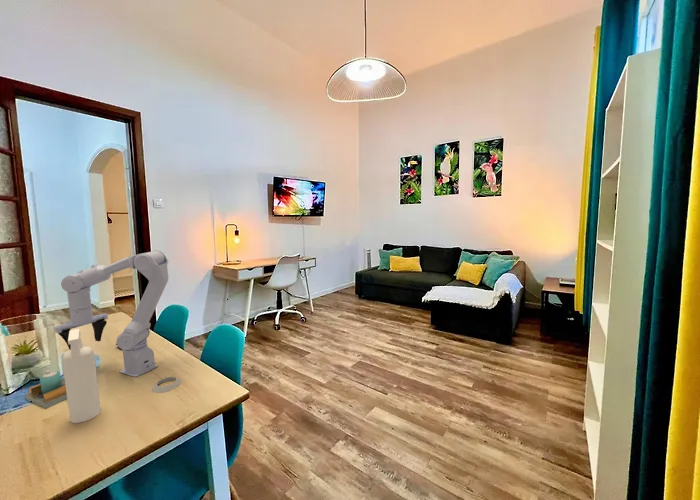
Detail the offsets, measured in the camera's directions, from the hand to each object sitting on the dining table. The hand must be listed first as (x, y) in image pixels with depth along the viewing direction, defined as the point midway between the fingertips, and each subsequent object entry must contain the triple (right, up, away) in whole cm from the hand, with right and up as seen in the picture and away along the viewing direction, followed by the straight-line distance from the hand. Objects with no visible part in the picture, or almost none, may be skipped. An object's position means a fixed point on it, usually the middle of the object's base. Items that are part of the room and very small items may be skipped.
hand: (85, 345), depth 106 cm
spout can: (0, -10, -12) cm, 16 cm away
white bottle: (+19, -13, -21) cm, 31 cm away
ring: (+33, -12, -7) cm, 36 cm away
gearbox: (+1, -12, -11) cm, 16 cm away
